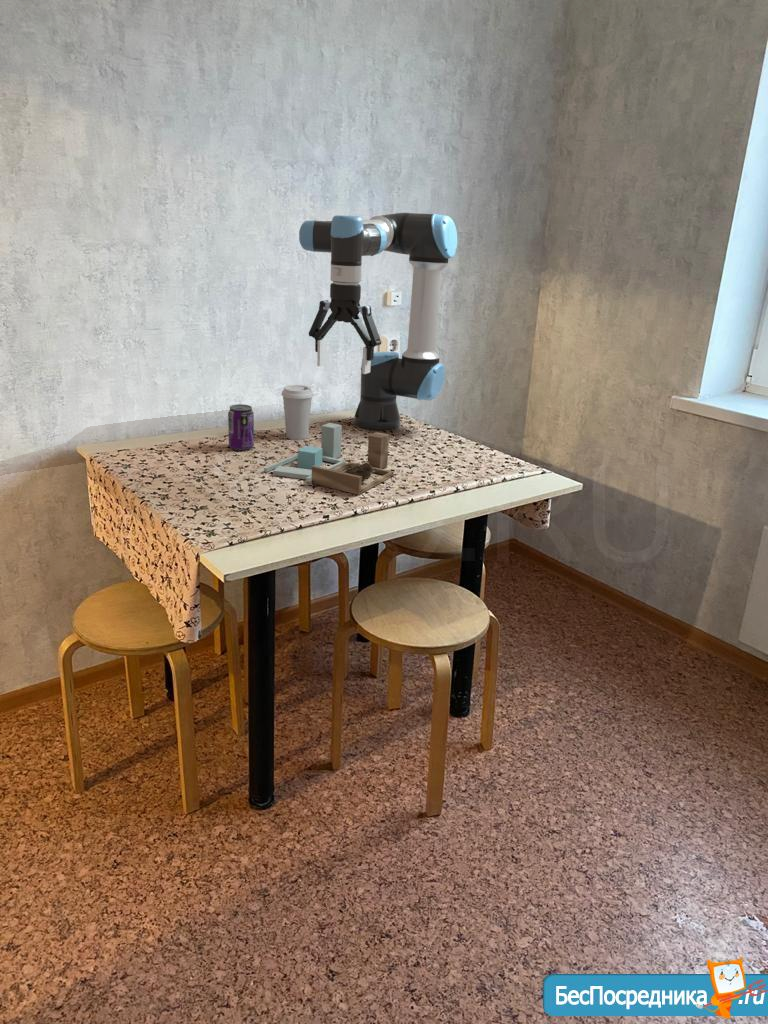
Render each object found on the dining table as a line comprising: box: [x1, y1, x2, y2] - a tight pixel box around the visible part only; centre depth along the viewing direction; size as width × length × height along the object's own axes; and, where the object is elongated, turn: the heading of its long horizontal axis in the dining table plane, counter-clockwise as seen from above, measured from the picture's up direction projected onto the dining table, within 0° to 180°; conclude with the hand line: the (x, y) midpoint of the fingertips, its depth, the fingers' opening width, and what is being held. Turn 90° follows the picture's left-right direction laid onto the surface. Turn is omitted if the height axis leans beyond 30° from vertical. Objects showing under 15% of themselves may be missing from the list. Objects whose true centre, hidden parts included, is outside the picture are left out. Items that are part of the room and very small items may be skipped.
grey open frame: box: [263, 422, 347, 483], centre depth 207 cm, size 24×14×9 cm, turn 151°
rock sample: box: [343, 461, 375, 483], centre depth 199 cm, size 10×8×9 cm
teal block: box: [297, 445, 323, 470], centre depth 208 cm, size 5×5×5 cm
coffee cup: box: [281, 384, 315, 441], centre depth 231 cm, size 10×10×15 cm
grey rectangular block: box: [272, 465, 312, 480], centre depth 202 cm, size 4×10×1 cm, turn 76°
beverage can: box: [227, 403, 255, 451], centre depth 219 cm, size 7×7×12 cm
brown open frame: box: [311, 431, 395, 496], centre depth 201 cm, size 24×14×9 cm, turn 151°
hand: (343, 369), depth 197 cm, fingers open, 13 cm apart
